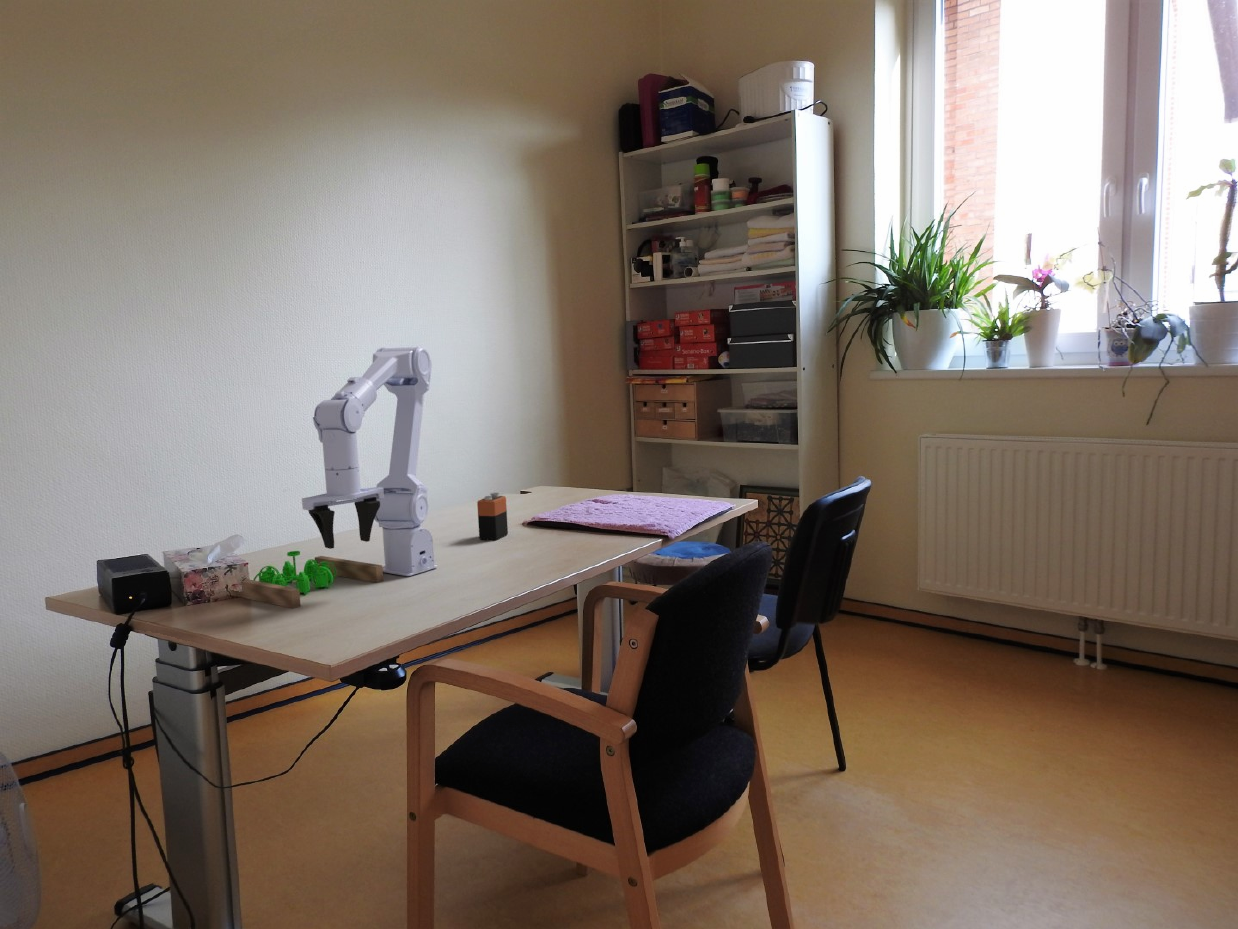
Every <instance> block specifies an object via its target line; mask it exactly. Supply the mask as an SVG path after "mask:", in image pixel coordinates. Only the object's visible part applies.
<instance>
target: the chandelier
mask: <svg viewBox="0 0 1238 929" xmlns="http://www.w3.org/2000/svg"><path fill="white" fill-rule="evenodd" d="M286 555H287V556H288V557H292V564H291V562H290V561H289V560H286V561H284V565H283V566H282V572H280V571H279V569H277V568H276V567H275V566H273V565H266V566H263V567H262V568H261V569H260V570H259V572H258V573H257V574H256V575H255V576H254V577H253V580H254V581H256V579H257V578H258V581H259V582H265V583H270V584H275V585H280V586H286V587H288V583H290V584H291V583H293V582H296V589H299V594H300V593H303V595H308V592H310V590H311V588H310V586H311V585H310V582H311V584H312V585H313V586H314V587H315V588H316V589H320V588H323V587H325V589H328V588H330V587H331V586H332V585H333V582H334V580H335V578H336V577H337V576H336V568H335V566H334V565H333V564H332V563H330V562H326V561H325V562H321V563H319V564H317V562H316V561H315V558H313V559H311V558H309V559H307V561H306V562H305V563H304V566H303V567H304V568H303V571H300V572H298V574H297V567H296V566H297V565H296V556H300V555H301V551H300V550H292V551H289V552H288V551H287V553H286ZM327 563H330V564H331V565H332V566H333V567H334V569H335V574H334V575H332V573H331V569H330V568H329V566H328V565H327ZM320 564H321V565H322V566H320V567H318V566H319V565H320ZM318 568H319V569H318ZM264 569H265V570H264ZM318 570H319V571H318Z"/></svg>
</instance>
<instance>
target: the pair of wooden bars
mask: <svg viewBox="0 0 1238 929" xmlns="http://www.w3.org/2000/svg"><path fill="white" fill-rule="evenodd" d="M313 559H314V560H315V561H316V562H317V564H319V563H321V562H325V561H326V562H330V563H332V564H333V565H334V566H335V568H336V576H335V577H340V578H341V577H342V578H348V579H353V580H360V581H365V582H372V583H380V582H384V572H383V568H382V567H383V565H382V564H378V563H377V564H376V563H369V562H363V561H358V560H357V561H356V560H350V559H344V558H337V557H331V556H325V555H318V556H315V557H314V558H313ZM330 563H327V565H328V566H329V568H330V569H331V573H332V575H333V576H334V574H335V569H334V567H333V566H332V565H331V564H330ZM320 566H322V565H321V564H320V565H319V566H318V567H320ZM318 569H319V568H318ZM318 571H319V570H318ZM245 579H246V580H244V581H241V583H242V584H241V585H242V590H243V591H242V592H239V591H234V590H230V596H233V597H237V598H243V599H247V600H252V601H256V602H261V603H267V604H271V605H275V606H280V607H286V608H288V609H289V608H290V609H295V608H299V607H301V596H300V592H299V589H297V587H296V588H294V587H290V586H287V587H286V586H280V585H275V584H270V583H265V582H259V580H255V581H254V579H253V580H252V579H248V578H245Z"/></svg>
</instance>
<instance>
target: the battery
mask: <svg viewBox="0 0 1238 929" xmlns="http://www.w3.org/2000/svg"><path fill="white" fill-rule="evenodd" d="M489 494H490V495H485V496H484V497H483V498H481V499H478V500H477V501H476V504H477V505H476V506H477V522H478V535H479V536H478V537H479V540H481V541H493V542H494V541H497V540H499V539H502V538H504V537H506V536H507V535H508V533H509V532H508V531H509V530H508V528H509V527H508V512H507V511H508V510H507V497H506V496H504V495H500V493H499V492H490V493H489Z"/></svg>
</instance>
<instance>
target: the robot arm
mask: <svg viewBox="0 0 1238 929" xmlns="http://www.w3.org/2000/svg"><path fill="white" fill-rule="evenodd" d="M432 366H433V364H432V360H431V357H430V354H429V352H428V350H427V349H426V348H425V347H424V346H422V345H418V346H413V347H412V346H411V347H410V346H408V347H407V346H406V347H387V348H386V347H379V348H378V349H377V350H376V352H374V353H373V354H372V363H371V364H370V366H369V367H368V368H367V370H365V372H364V373H363V374H362V376H360V377H359V376H357V377H356V376H351V377H349V378H348V379H347V381H346V384H344V385H343V387H341V389H340V390H339V391H337V392H336V393H334V396H332V397H331V399H324V400H322V401H321V402H320V403H318V404H317V405H316V407H315V408H314V412H313V413H314V414H313V417H312V420H313V425H314V427H315V429H316V430H317V434H318V440H319V442H320V443H322V453H323V454H322V455H323V466H324V475H325V476H324V478H325V490H326V493H321V494H318V495H317V494H316V495H313V496H308V497H302V498H301V503H302V509H303V510H305V511H307V512H308V514H309V515H310V517H311V518H312V520H313V521H314V523H315V525H316V526H317V529H318V531H319V533H320V535H321V538H322V541H323V544H324V548H326V549H331V550H332V549H334V548H335V535H334V520H335V511H334V510H331V508H330V507H332V506H333V507H335V506H339V505H346V504H352V503H354V506H355V510H356V514H357V519H358V530H359V531H358V532H359V538H360V541H362V542H365V543H367V542H370V540H371V535H372V528H373V525H374V521H375V522H376V523H377V524H378V528H382V538H383V539H382V540H383V543H382V544H383V553H384V554H383V556H384V566H383V565H382V568H383V573H384V574H385V573H387V574H391V575H398V576H404V577H410V576H414V575H416V574H421V573H423V572H427V571H430V570H434V569H436V568H438V565H437V564H435V559H434V558H435V557H434V556H435V555H434V541H433V535H432V533H431V532H430V530H428V529H427V528H425V527H422V525H423V524H424V522H425V521H426V518H427V517H428V513H429V502H428V488H427V486H426V485H425V484H424V483H423V482H421V481H420V480H419V479H418V478H417V477H416V474H417V465H418V456H419V455H418V454H419V446H420V439H421V438H420V437H421V431H422V430H421V428H422V419H423V411H424V401H425V394H426V393H427V392H428V391H429V390H430V385H431V376H432V375H431V374H432V368H433V367H432ZM383 386H384V387H385V389H386V390H387V391H388V392H389V393H391V394H393V395H395V397H396V399H397V400H396V410H395V418H394V426H393V436H392V444H391V453H390V460H389V468H388V469H389V471H388V475H387V476H386V477H384V478H383V479H382V480H380V481H379V482H378V483H377V484H376V487H367V488H365V487H364V488H361V480H360V467H359V465H360V464H359V453H358V440H357V439H358V438H357V432H358V430H360V429H361V426H362V423H363V418H364V417H365V414H366V413H365V412H366V411H367V410H368V409H369V408H370V407H371V406H372V405H373V404H374V403H375V402H376V399H377V397H378V394H377V391H378V390H379V389H380V388H382V387H383Z"/></svg>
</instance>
